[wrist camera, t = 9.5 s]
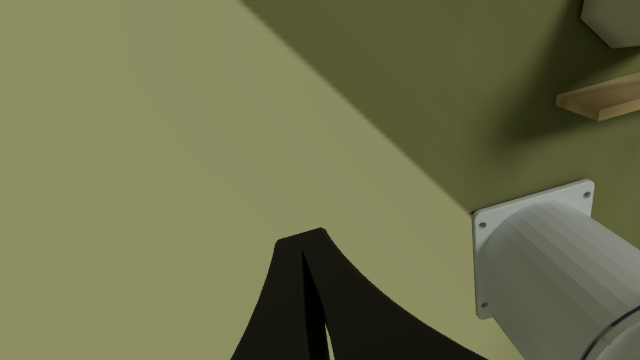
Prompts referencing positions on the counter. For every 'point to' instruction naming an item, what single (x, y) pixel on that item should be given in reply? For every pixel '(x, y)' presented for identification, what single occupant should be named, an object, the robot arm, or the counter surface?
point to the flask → (614, 21)
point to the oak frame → (604, 98)
